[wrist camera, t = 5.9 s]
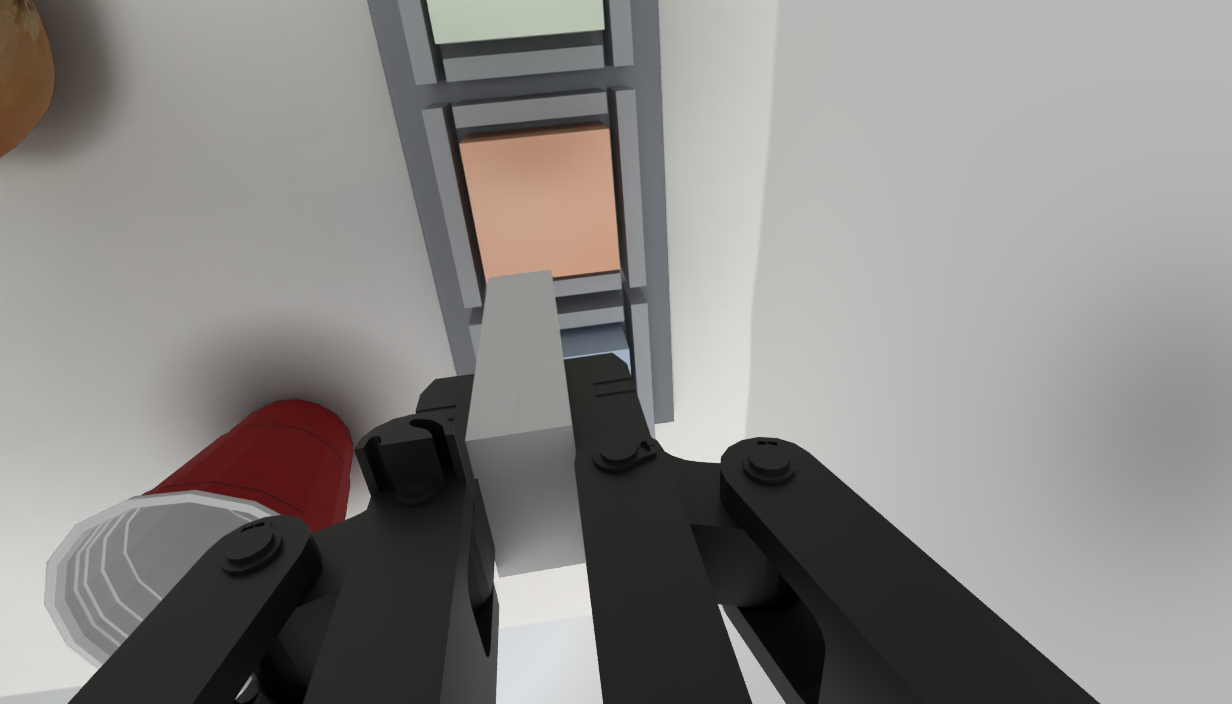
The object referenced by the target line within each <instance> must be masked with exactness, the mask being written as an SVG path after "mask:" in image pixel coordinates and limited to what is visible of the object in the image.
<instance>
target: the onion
mask: <svg viewBox="0 0 1232 704" xmlns="http://www.w3.org/2000/svg"><path fill="white" fill-rule="evenodd" d="M54 84H55V72H54V63H53V58H52V53H51V48H50V44H49V41H48V37H47V34H46V31H45V28H44V25H43V22H42V20H41V18H40V15H39V13H38V11H37V9H36V7H35V4H34V2H33V1H32V0H0V158H1V157H2V156H3V155H5V154H6V153H8V152H9V151H10V150H12V149H13V148H14V147H16V146H17V145H18V144H19V143H20V142H21V141H22V140H23V139H24V138H25V137H26V136H27V135H28V134H29V133H30V132H31V131H32V130H33V128H34V127H35V126H36V124H37V123H38V122H39V121H40V119H41V118H42V117H43V115H44V114H45V113H46V111H47V110H48V108H49V106H50V103H51V100H52V96H53V91H54Z"/></svg>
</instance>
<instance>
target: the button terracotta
mask: <svg viewBox="0 0 1232 704" xmlns="http://www.w3.org/2000/svg"><path fill="white" fill-rule="evenodd" d="M459 146H460V151H461V156H462V161H463V166H464V171H465V177H466V182H467V187H468V192H469V197H470V202H471V207H472V212H473V218H474V223H475V228H476V233H477V238H478V243H479V248H480V253H481V259H482V264H483V269H484V274H485V279H486V284H488V278H489V277H497V276H505V275H512V274H520V273H528V272H536V271H544V270H551V272H552V278H553V277H561V276H569V275H577V274H585V273H594V272H602V271H610V270H618V269H620V261H619V248H618V235H617V223H616V210H615V197H614V184H613V172H612V159H611V146H610V134H609V128H608V127H607V126H606V125H605V124H604V123H603V122H602V121H593V122H583V123H573V124H563V125H553V126H543V127H533V128H523V129H513V130H503V131H493V132H483V133H473V134H466V135H465V136H464V138H463V139H462V141H461V142H460V143H459Z"/></svg>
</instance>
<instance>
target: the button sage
mask: <svg viewBox="0 0 1232 704" xmlns="http://www.w3.org/2000/svg"><path fill="white" fill-rule="evenodd" d="M427 5H428V10H429V15H430V20H431V25H432V30H433V35H434V40H435V44H444V45H447V44H458V43H470V42H481V41H493V40H504V39H516V38H528V37H539V36H551V35H562V34H574V33H585V32H596V31H600V30H604V29H605V26H604V12H603V0H427Z"/></svg>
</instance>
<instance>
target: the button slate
mask: <svg viewBox="0 0 1232 704" xmlns="http://www.w3.org/2000/svg"><path fill="white" fill-rule="evenodd" d="M560 336H561V343H562V350H563V357H564V359H570V358H577V357H584V356H591V355H598V354H606V353H614V354H615V355H617V356H618V357H619V358H620V359H622V360H623V361H624V362H626V363H627V365H628V368H629V371H630V374H631V367H630V354H629V347H628V344H627V341H626V338H625V335H624V332H623V330H622V327H621V324H620V322H618V323H610V324H602V325H594V326H587V327H579V328H571V329H563V330H560Z"/></svg>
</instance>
